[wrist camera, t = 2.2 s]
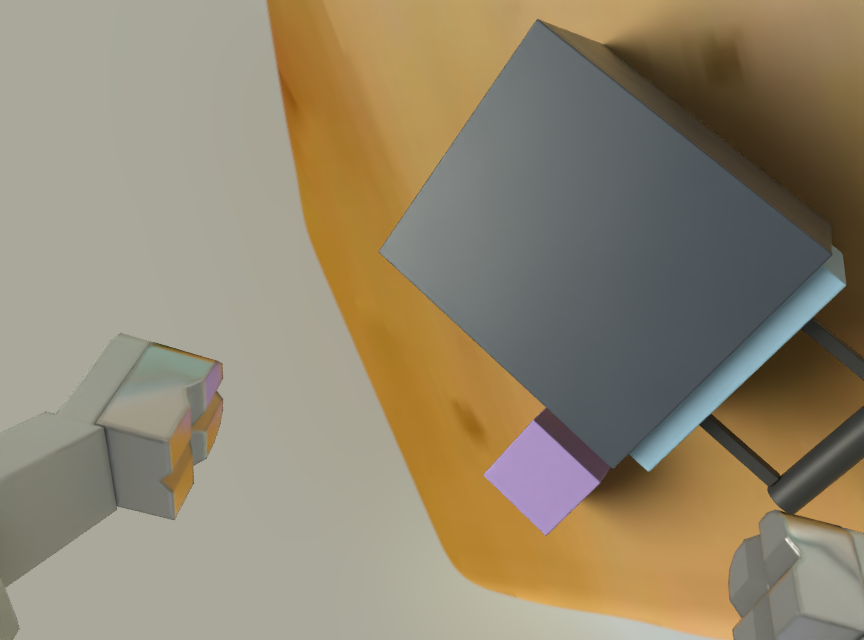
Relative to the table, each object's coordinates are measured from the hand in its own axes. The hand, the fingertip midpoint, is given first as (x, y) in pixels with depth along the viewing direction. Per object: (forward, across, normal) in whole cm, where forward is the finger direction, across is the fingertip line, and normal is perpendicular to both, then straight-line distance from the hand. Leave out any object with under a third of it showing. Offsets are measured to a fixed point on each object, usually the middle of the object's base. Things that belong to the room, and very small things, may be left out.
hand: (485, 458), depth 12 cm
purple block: (+23, -7, +25) cm, 34 cm away
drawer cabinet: (+28, -7, +13) cm, 31 cm away
